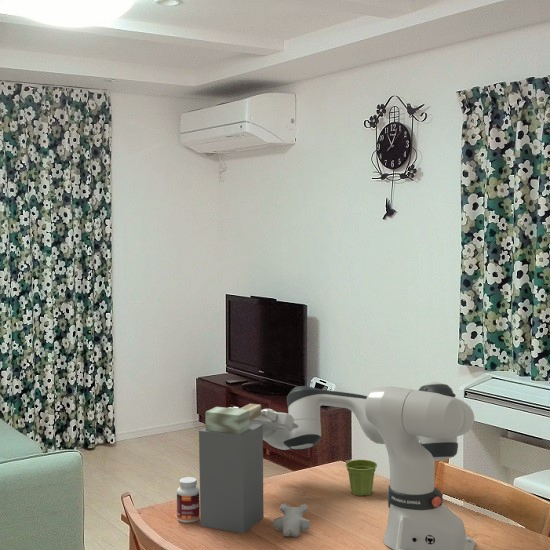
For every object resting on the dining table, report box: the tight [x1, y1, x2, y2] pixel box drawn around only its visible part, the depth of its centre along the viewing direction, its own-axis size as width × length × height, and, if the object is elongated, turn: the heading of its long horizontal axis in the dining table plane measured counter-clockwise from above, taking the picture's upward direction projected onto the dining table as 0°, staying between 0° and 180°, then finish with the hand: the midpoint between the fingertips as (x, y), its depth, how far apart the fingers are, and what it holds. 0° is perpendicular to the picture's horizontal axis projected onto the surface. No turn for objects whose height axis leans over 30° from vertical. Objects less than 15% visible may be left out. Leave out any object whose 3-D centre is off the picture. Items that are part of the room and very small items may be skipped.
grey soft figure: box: [273, 503, 311, 537], centre depth 211 cm, size 10×5×15 cm
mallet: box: [204, 403, 262, 434], centre depth 218 cm, size 10×20×5 cm, turn 156°
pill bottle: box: [176, 476, 200, 524], centre depth 218 cm, size 6×6×11 cm
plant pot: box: [345, 459, 378, 497], centre depth 237 cm, size 9×9×9 cm
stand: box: [198, 423, 265, 535], centre depth 215 cm, size 13×12×26 cm
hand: (249, 411), depth 224 cm, fingers open, 8 cm apart
